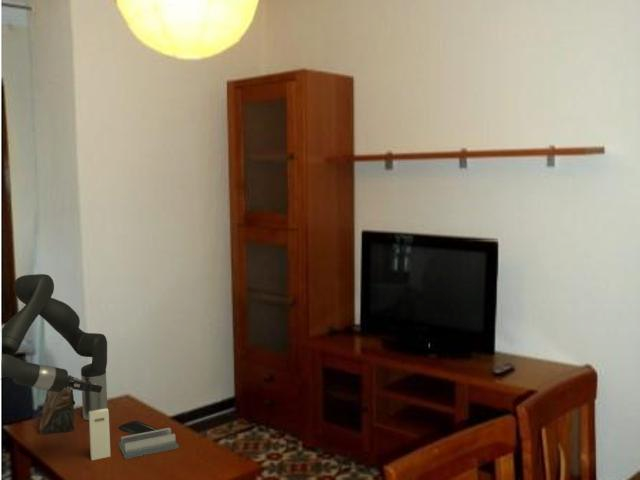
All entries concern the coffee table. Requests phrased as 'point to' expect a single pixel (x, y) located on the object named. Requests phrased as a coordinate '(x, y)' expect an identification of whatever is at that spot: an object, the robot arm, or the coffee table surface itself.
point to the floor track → (148, 443)
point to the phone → (136, 427)
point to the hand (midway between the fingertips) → (95, 387)
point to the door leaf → (99, 434)
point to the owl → (58, 412)
